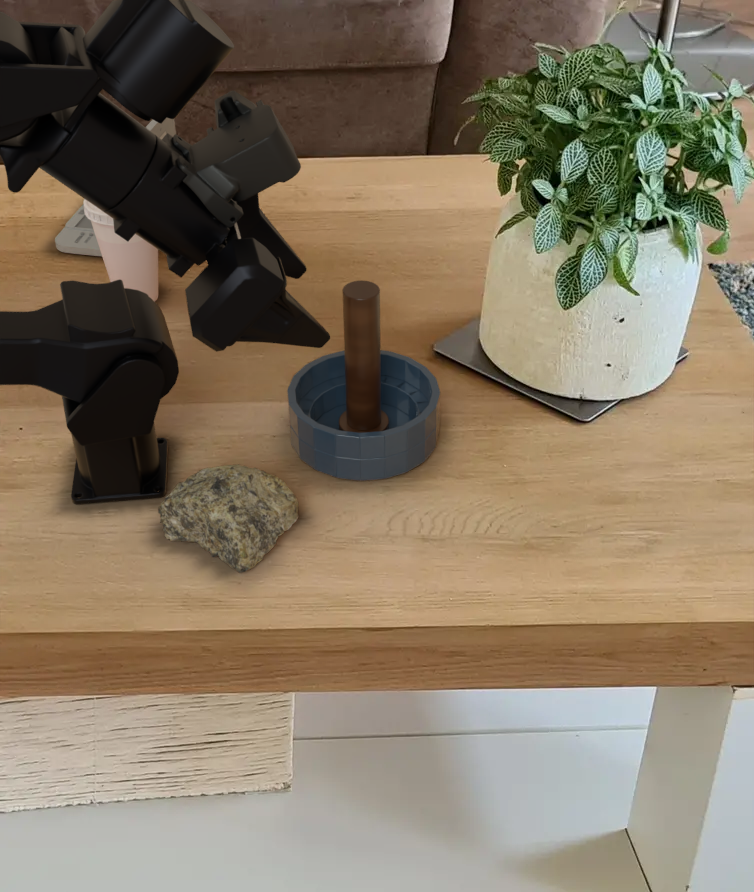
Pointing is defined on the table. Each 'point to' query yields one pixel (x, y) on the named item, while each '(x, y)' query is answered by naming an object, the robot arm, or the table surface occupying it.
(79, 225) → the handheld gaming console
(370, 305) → the brown wooden peg
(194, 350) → the table surface
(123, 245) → the smoothie
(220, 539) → the rock
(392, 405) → the bowl
